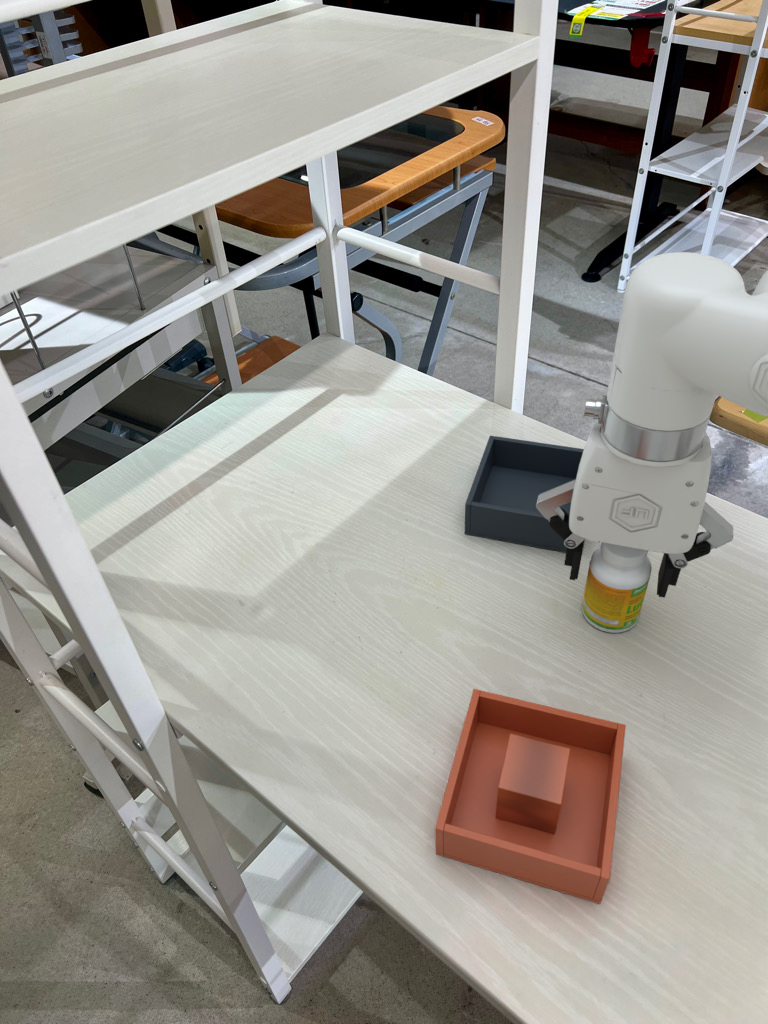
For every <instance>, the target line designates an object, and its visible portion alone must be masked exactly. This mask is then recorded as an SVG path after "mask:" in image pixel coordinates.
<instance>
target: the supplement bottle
mask: <svg viewBox="0 0 768 1024" xmlns="http://www.w3.org/2000/svg"><path fill="white" fill-rule="evenodd" d="M600 543H601V544H600V546H598V547H597V548H595V550H594V551H593V553H592V554H591V557H590V561H589V565H588V570H587V575H586V581H585V586H584V592H583V596H582V602H581V610H582V614H583V617H584V618H585V620H586V621H587V622H588V623H589V625H591V626H592V627H594V628H596V629H597V630H599V631H602V632H606V633H612V634H616V633H617V634H619V633H624V632H627V631H629V630H632V628H634V626H636V624H637V622H638V621H639V618H640V615H641V613H642V612H641V611H642V608H643V604H644V600H645V596H646V593H647V589H648V586H649V583H650V578H651V575H652V568H653V567H652V563H651V562H652V561H651V560H650V558H649V556H648V554H649V550H643V549H637V548H631V547H625V546H620V545H614V544H609V543H604V542H600Z"/></svg>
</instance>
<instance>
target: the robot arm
mask: <svg viewBox="0 0 768 1024" xmlns="http://www.w3.org/2000/svg"><path fill="white" fill-rule="evenodd" d="M624 289H625V290H624V294H623V298H622V299H623V300H622V305H621V311H620V316H619V322H618V328H617V334H616V340H615V345H614V352H613V357H612V362H611V369H610V374H609V380H608V385H607V392H606V394H602V397H601V398H596V399H592V398H586V401H585V407H584V413H583V416H584V417H589V418H593V420H596V421H595V422H594V424H593V426H592V427H591V430H590V433H589V435H588V437H587V440H586V442H585V444H584V447H583V449H584V450H583V454H582V458H581V461H580V464H579V468H578V472H577V477H576V479H575V480H573V481H570V482H568V483H565V484H563V485H561V486H558V487H556V488H553V489H551V490H549V491H546V492H544V493H541V494H539V496H538V499H537V502H536V508H537V509H538V510H539V512H540V513H541V514H542V515H543V516H544V518H545V519H547V520H548V521H549V522H550V523H549V525H550V527H551V528H552V529H553V530H554V531H555V532H556V533H558V534H559V535H560V536H561V537H562V538H563V539H564V545H565V546H566V547H567V550H566V553H565V557H564V562H563V564H564V566H566V567H571V568H570V574H569V580H570V581H576V580H578V578H579V574H580V567H581V562H582V557H583V552H584V546H585V540H589V541H593V542H597V543H602V542H604V543H609V544H614V545H620V546H625V547H631V548H637V549H643V550H648V552H649V551H650V552H653V553H654V552H655V553H661V554H663V555H662V559H661V562H660V566H659V569H658V574H657V583H656V595H657V596H658V597H659V598H664V599H665V598H666V596H667V592H668V590H669V586H674V587H676V586H677V584H678V581H679V576H680V574H681V570H682V569H685V568H687V567H688V564H689V562H692V561H694V560H697V559H699V558H702V557H705V556H707V555H708V554H710V553H711V550H714V549H719V548H720V547H723V546H724V545H726V544H728V543H730V542H732V541H733V540H734V526H733V524H731V523H730V522H729V521H728V520H727V519H726V518H724V517H723V516H722V515H721V514H720V513H719V512H717V511H716V510H715V508H713V507H712V506H711V505H710V504H708V502H706V498H707V491H708V488H709V482H710V478H711V469H712V446H711V439H710V437H709V435H708V433H707V428H708V425H709V422H710V419H711V416H712V415H711V414H712V413H713V408H714V405H715V402H716V398H717V396H718V397H720V398H722V399H725V400H727V401H728V402H731V403H733V404H735V405H737V406H738V407H739V406H740V407H741V408H744V409H745V410H748V411H750V412H752V413H755V414H758V415H761V416H764V417H767V418H768V269H767V270H765V272H764V273H763V275H762V276H761V278H760V279H759V281H758V283H757V285H756V287H755V289H754V291H753V292H752V294H750V293H748V292H747V290H746V286H745V282H744V280H743V277H742V275H741V273H740V272H739V271H738V270H737V269H736V268H735V267H734V266H733V265H731V264H730V263H728V261H727V262H726V261H725V260H723V259H721V258H718V257H716V256H712V255H708V254H704V253H697V252H689V251H674V252H665V253H661V254H656V255H654V256H651V257H649V258H647V259H645V260H643V261H642V262H640V263H639V264H638V265H637V266H636V267H635V268H634V269H633V270H632V271H631V274H630V275H629V277H628V279H627V281H626V285H625V288H624ZM570 502H571V508H570V515H569V514H568V513H567V512H566V511H565V510H564V509H562V508H560V506H562V505H565V504H567V503H570ZM700 526H701V527H702V528H703V529H705V531H700V532H698V531H699V527H700Z"/></svg>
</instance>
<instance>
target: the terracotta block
mask: <svg viewBox="0 0 768 1024" xmlns="http://www.w3.org/2000/svg"><path fill="white" fill-rule="evenodd" d="M569 755H570V749H569V748H566V747H562V746H558V745H554V744H550V743H546V742H542V741H538V740H534V739H530V738H526V737H522V736H518V735H514V734H510V736H509V741H508V745H507V750H506V754H505V759H504V763H503V767H502V772H501V776H500V781H499V785H498V793H497V804H496V815H495V817H496V818H498V819H501V820H505V821H508V822H512V823H515V824H519V825H523V826H526V827H530V828H533V829H537V830H540V831H544V832H547V833H551V834H555V832H556V828H557V823H558V819H559V814H560V810H561V805H562V799H563V793H564V787H565V780H566V774H567V768H568V762H569Z"/></svg>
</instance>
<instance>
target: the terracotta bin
mask: <svg viewBox="0 0 768 1024" xmlns="http://www.w3.org/2000/svg"><path fill="white" fill-rule="evenodd" d="M626 727H627V725H626V724H625V723H620V722H616V721H611V720H606V719H602V718H598V717H595V716H590V715H585V714H581V713H578V712H577V713H576V712H573V711H569V710H565V709H560V708H557V707H552V706H548V705H543V704H539V703H536V702H531V701H527V700H523V699H519V698H516V697H515V698H514V697H510V696H506V695H501V694H497V693H494V692H489V691H486V690H481V689H477V688H473V690H472V693H471V697H470V701H469V704H468V708H467V711H466V715H465V718H464V723H463V726H462V730H461V733H460V737H459V740H458V743H457V748H456V751H455V754H454V757H453V762H452V765H451V769H450V771H449V776H448V780H447V784H446V786H445V791H444V794H443V798H442V802H441V806H440V809H439V813H438V816H437V820H436V824H435V827H434V836H435V854H436V856H437V855H438V856H441V857H444V858H448V859H451V860H454V861H457V862H461V863H464V864H467V865H470V866H474V867H477V868H480V869H484V870H487V871H490V872H493V873H497V874H500V875H504V876H507V877H509V878H514V879H516V880H519V881H522V882H523V881H524V882H527V883H530V884H534V885H537V886H540V887H544V888H547V889H550V890H553V891H557V892H560V893H563V894H567V895H570V896H572V897H576V898H579V899H583V900H586V901H589V902H592V903H597V904H598V905H599V904H602V901H603V898H604V895H605V893H606V890H607V888H608V885H609V882H610V881H611V880H610V879H611V871H612V861H613V853H614V852H613V851H614V843H615V842H614V841H615V834H616V823H617V814H618V806H619V805H618V802H619V795H620V785H621V776H622V767H623V765H622V764H623V757H624V756H623V755H624V746H625V735H626ZM510 734H514V735H518V736H522V737H526V738H530V739H534V740H538V741H542V742H546V743H550V744H554V745H558V746H562V747H566V748H569V749H570V755H569V762H568V768H567V774H566V780H565V787H564V793H563V799H562V805H561V810H560V814H559V819H558V823H557V828H556V832H555V834H551V833H547V832H544V831H540V830H537V829H533V828H530V827H526V826H523V825H519V824H515V823H512V822H508V821H505V820H501V819H498V818H496V817H495V815H496V804H497V793H498V785H499V781H500V776H501V772H502V767H503V763H504V759H505V754H506V750H507V745H508V741H509V736H510Z"/></svg>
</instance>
